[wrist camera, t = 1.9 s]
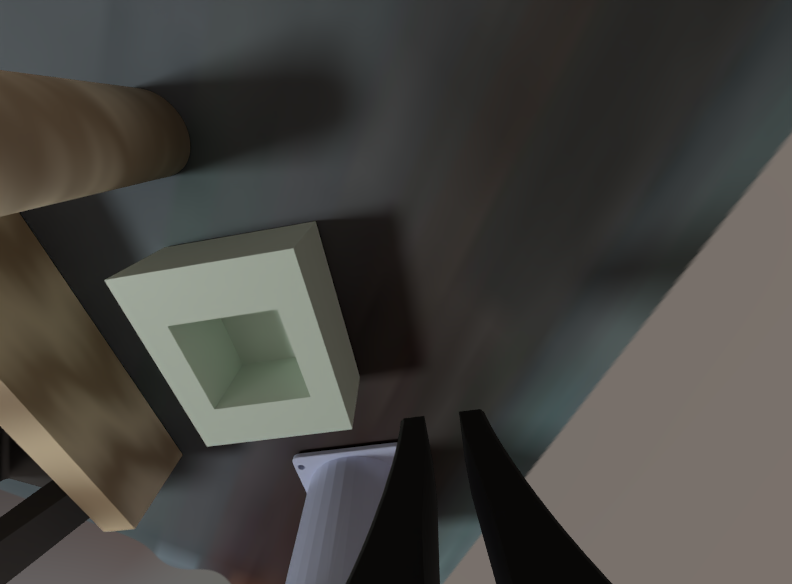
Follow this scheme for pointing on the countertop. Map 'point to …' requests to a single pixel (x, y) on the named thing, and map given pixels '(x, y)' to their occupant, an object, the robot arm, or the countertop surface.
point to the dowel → (81, 139)
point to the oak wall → (73, 392)
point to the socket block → (246, 333)
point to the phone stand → (32, 512)
